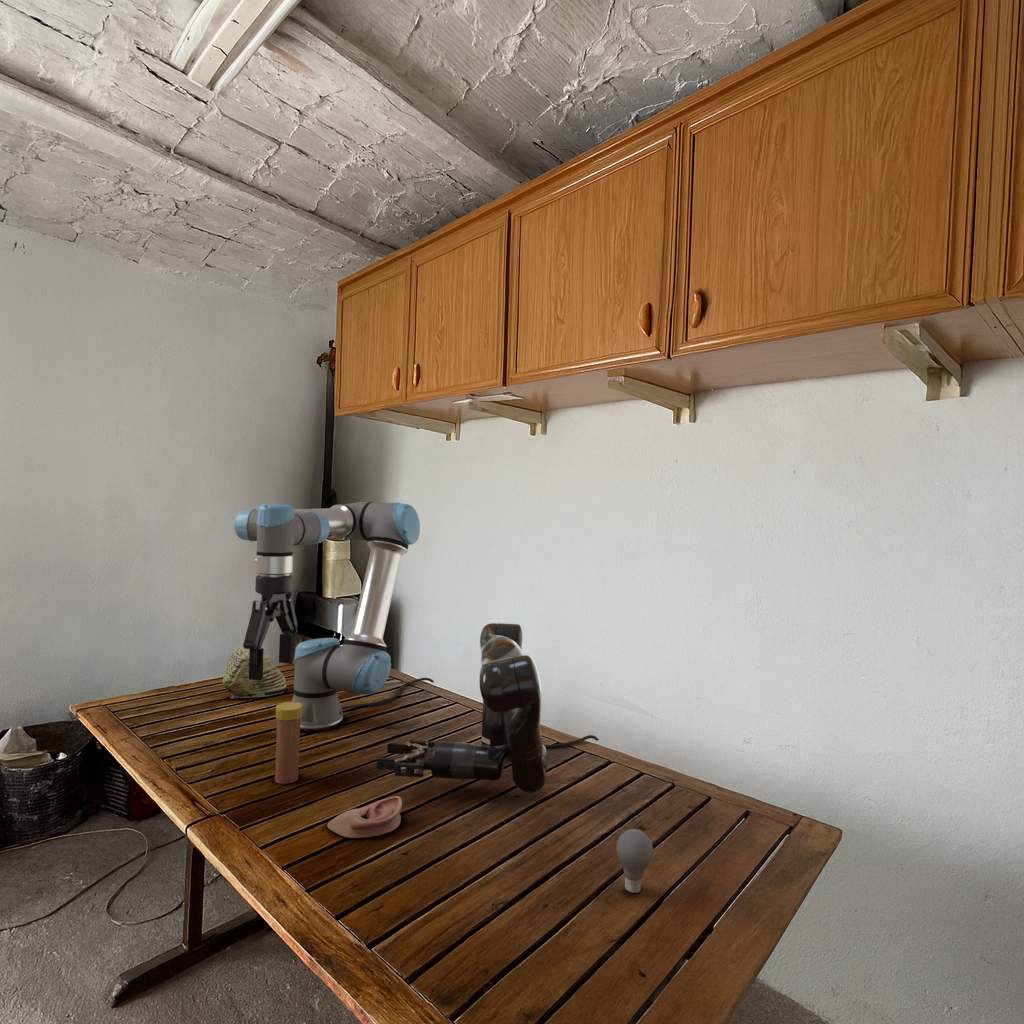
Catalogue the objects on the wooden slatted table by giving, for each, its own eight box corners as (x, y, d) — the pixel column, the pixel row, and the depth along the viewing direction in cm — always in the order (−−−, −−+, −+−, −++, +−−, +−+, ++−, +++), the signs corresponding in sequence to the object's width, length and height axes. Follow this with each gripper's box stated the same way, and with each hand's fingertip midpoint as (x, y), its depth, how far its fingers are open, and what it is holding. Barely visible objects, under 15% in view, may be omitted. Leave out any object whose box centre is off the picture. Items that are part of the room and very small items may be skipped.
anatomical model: (320, 812, 119) (347, 786, 130) (319, 833, 119) (347, 805, 130) (386, 822, 116) (408, 795, 127) (385, 844, 116) (408, 814, 128)
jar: (296, 783, 139) (299, 711, 139) (272, 784, 138) (275, 711, 138) (299, 773, 144) (302, 704, 144) (277, 774, 143) (279, 704, 143)
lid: (300, 720, 139) (300, 710, 139) (272, 721, 138) (273, 710, 138) (304, 711, 144) (304, 701, 144) (277, 712, 143) (278, 702, 143)
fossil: (218, 695, 195) (220, 647, 195) (278, 685, 208) (279, 640, 207) (228, 703, 189) (230, 653, 188) (289, 692, 201) (290, 645, 201)
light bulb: (610, 879, 108) (613, 822, 108) (644, 879, 109) (647, 822, 109) (619, 902, 102) (622, 840, 102) (655, 901, 103) (658, 840, 103)
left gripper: (283, 567, 152) (281, 655, 152) (226, 581, 127) (223, 686, 127) (314, 569, 151) (311, 657, 151) (262, 583, 126) (259, 688, 127)
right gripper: (460, 731, 146) (391, 727, 147) (450, 756, 132) (374, 751, 133) (459, 764, 146) (390, 759, 147) (449, 792, 132) (372, 786, 133)
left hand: (271, 670), depth 139 cm, fingers open, 13 cm apart
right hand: (382, 755), depth 140 cm, fingers open, 8 cm apart
